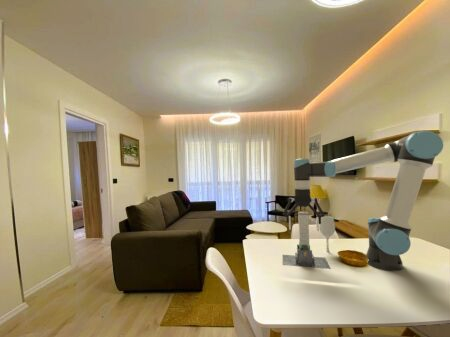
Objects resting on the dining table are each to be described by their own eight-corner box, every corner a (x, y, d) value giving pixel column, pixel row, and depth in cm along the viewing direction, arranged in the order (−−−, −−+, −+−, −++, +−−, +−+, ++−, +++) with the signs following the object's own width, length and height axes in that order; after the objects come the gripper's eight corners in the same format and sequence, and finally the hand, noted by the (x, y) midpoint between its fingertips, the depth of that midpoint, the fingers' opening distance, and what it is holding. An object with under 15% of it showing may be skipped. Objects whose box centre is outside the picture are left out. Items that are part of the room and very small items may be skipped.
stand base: (325, 259, 116) (324, 241, 117) (330, 271, 103) (330, 250, 103) (282, 256, 122) (282, 239, 122) (282, 267, 108) (282, 247, 109)
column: (308, 248, 114) (307, 211, 115) (310, 251, 109) (308, 213, 110) (298, 247, 116) (297, 211, 116) (299, 251, 110) (298, 213, 111)
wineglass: (319, 256, 122) (318, 218, 123) (319, 250, 130) (318, 215, 131) (337, 257, 119) (335, 219, 119) (335, 252, 127) (334, 216, 127)
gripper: (327, 187, 114) (328, 228, 113) (277, 188, 120) (278, 227, 120) (330, 189, 107) (331, 232, 106) (277, 189, 113) (278, 230, 112)
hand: (303, 229), depth 113 cm, fingers open, 13 cm apart
